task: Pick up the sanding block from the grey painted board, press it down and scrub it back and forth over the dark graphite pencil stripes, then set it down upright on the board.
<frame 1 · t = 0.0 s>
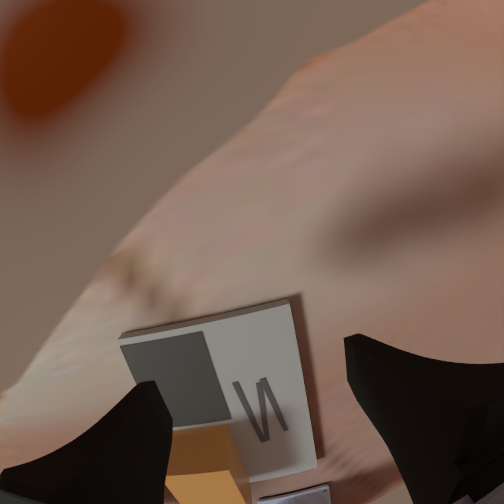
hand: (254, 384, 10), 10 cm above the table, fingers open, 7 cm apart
board: (232, 414, 22), on the table
sanding block: (210, 457, 22), point 1 cm above the table, touching board
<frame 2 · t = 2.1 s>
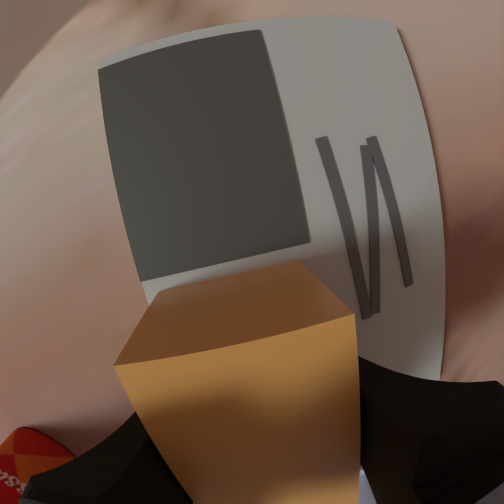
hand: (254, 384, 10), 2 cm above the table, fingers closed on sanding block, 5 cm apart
board: (304, 250, 12), on the table
sanding block: (252, 371, 11), point 1 cm above the table, touching board, gripper
coffee cup: (48, 456, 13), on the table
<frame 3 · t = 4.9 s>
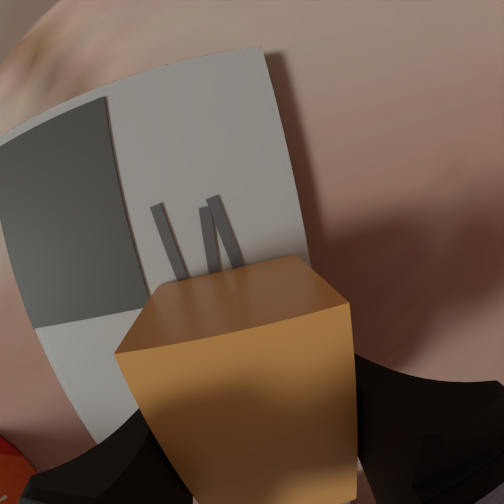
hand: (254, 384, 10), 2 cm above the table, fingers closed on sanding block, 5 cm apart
board: (161, 308, 12), on the table
sanding block: (250, 365, 12), point 1 cm above the table, touching board, gripper
coffee cup: (7, 455, 13), on the table
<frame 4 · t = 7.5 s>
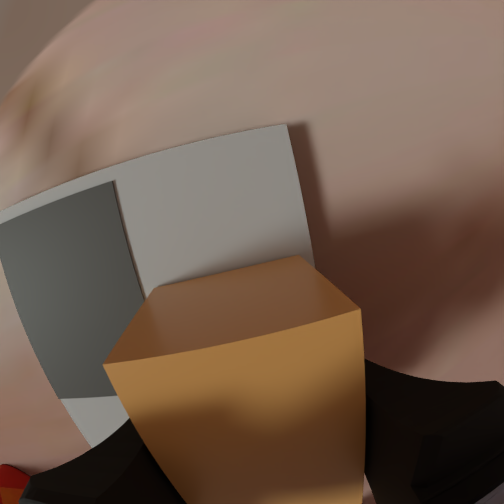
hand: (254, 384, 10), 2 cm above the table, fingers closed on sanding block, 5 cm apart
board: (183, 382, 12), on the table
sanding block: (251, 371, 11), point 1 cm above the table, touching gripper
coffee cup: (28, 485, 14), on the table
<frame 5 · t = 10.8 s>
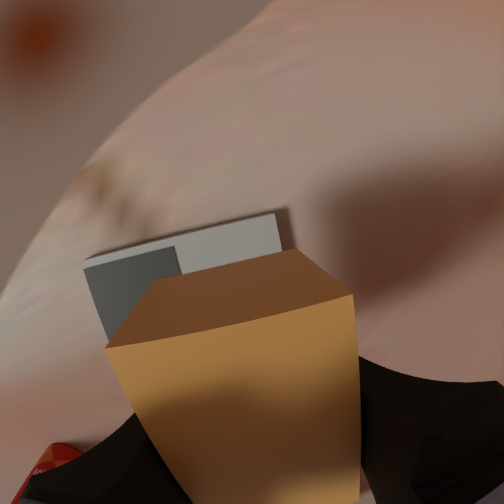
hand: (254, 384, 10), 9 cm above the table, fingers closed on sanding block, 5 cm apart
board: (211, 364, 20), on the table
sanding block: (249, 363, 11), point 8 cm above the table, touching gripper
coffee cup: (73, 460, 21), on the table
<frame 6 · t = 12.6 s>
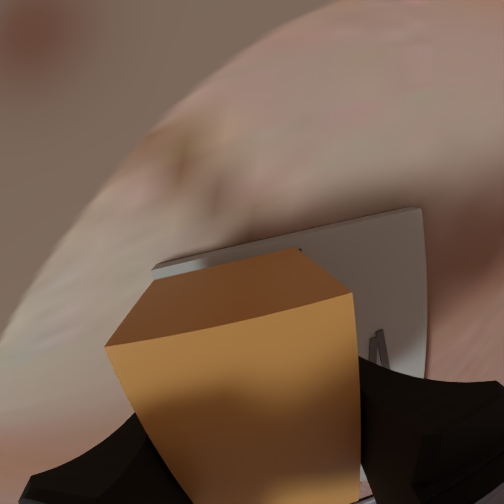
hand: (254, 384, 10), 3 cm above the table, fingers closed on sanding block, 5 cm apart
board: (320, 397, 15), on the table
sanding block: (249, 363, 11), point 3 cm above the table, touching gripper
when the fingers open (3 cm above the table, at t = 13.1 s): sanding block drops 1 cm, resting on board.
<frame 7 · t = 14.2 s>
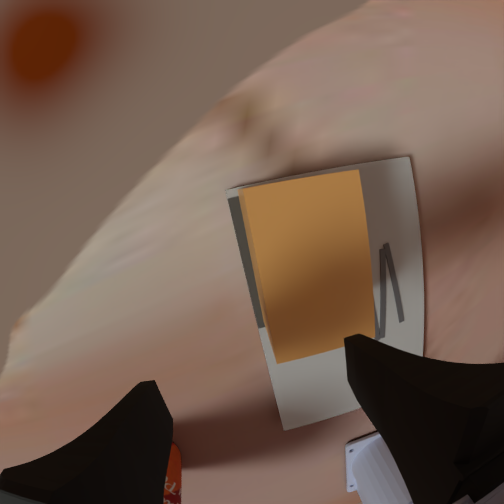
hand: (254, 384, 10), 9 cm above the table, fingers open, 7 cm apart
board: (344, 304, 20), on the table
sanding block: (293, 249, 18), point 1 cm above the table, touching board
coffee cup: (147, 449, 22), on the table
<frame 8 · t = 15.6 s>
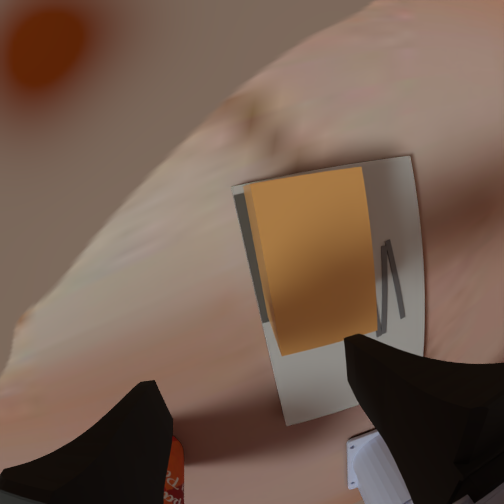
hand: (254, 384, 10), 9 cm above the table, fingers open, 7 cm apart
board: (346, 300, 20), on the table
sanding block: (297, 245, 18), point 1 cm above the table, touching board
coffee cup: (150, 445, 22), on the table
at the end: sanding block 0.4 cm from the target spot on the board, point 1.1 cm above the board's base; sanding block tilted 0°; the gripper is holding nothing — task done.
